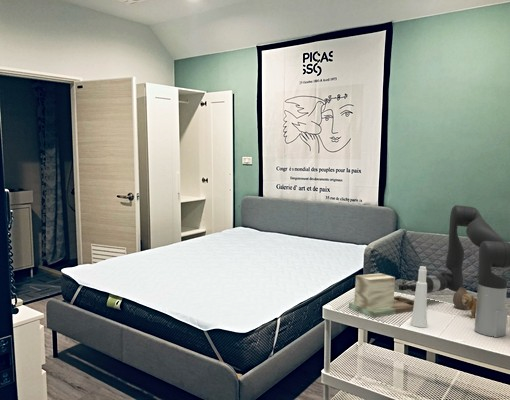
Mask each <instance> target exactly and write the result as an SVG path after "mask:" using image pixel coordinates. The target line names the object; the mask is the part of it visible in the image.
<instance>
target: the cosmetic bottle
mask: <svg viewBox="0 0 510 400" xmlns="http://www.w3.org/2000/svg"><path fill="white" fill-rule="evenodd" d="M427 273H428V270H427V266H423V265H421V266H419V268H418V276H417V277H418V281H417V284H416V291H414V293H415V294H414V299H413V301H414V307H413V311H412V314H411V319H410V323H409V324H410V325H411V326H413V327H415V328H422V329H423V328H427V327H428V318H427V317H428V316H427V315H428V312H427V310H428V309H427V307H428V306H427V304H428V299H427V298H428V293H427V283H426V276H427Z"/></svg>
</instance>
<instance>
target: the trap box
mask: <svg viewBox="0 0 510 400" xmlns="http://www.w3.org/2000/svg"><path fill="white" fill-rule="evenodd" d="M413 307H414V299H410V298H407V297H405V296H401V295H394V304H393V307H386V308H379V309H373V310H367V309H364V308H362V307H359V306H357V305H354V301H352V302H351V301H350V302H348V308H350V309H351V310H354V311H357V312H359V313H361V314H364V315H367V316H369V317H372V318H378V317H380V318H381V317H385V316H393V315H398V314H399V315H400V314H404V313H410V312H413Z"/></svg>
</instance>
